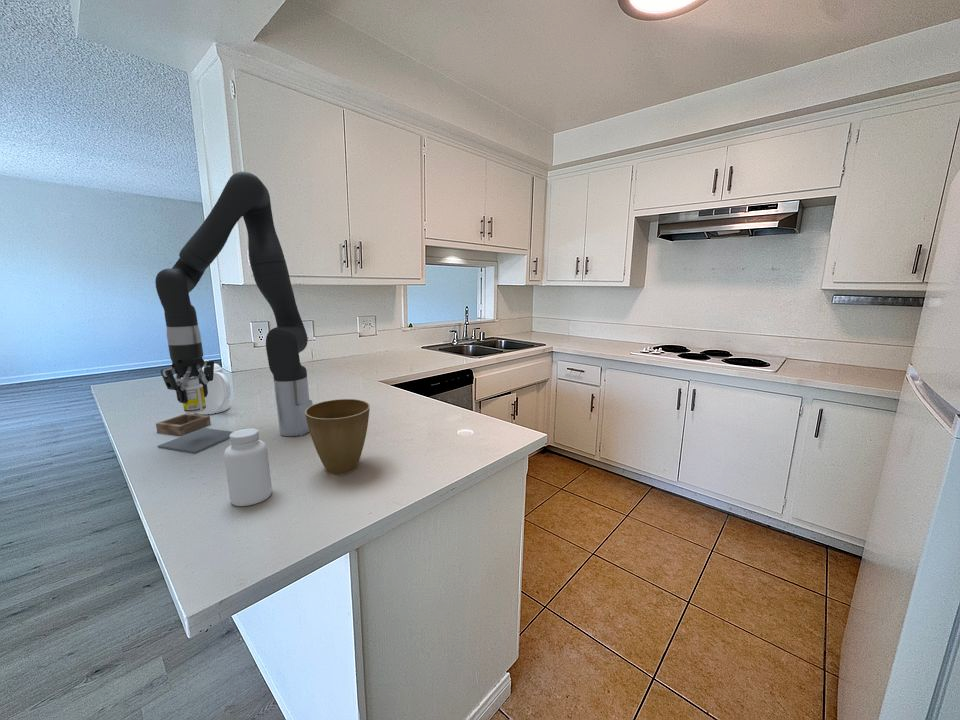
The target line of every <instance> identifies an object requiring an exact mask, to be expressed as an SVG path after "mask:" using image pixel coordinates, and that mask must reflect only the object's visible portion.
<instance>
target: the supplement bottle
mask: <svg viewBox="0 0 960 720" xmlns="http://www.w3.org/2000/svg"><path fill="white" fill-rule="evenodd" d="M185 390H186V395H187V401H188V402H187V403H182V406H183V411H184V413H185V414H186V413H189V414H196V413H197V412H201V411H203V410H205V409H206V403H205V397H204V391H203V385H202V384H200V383H199V379H198V378H192V377H191V378H189V380H188V382H187V383H186V387H185Z"/></svg>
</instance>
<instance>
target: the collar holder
mask: <svg viewBox="0 0 960 720" xmlns="http://www.w3.org/2000/svg"><path fill="white" fill-rule="evenodd" d="M210 425H212V423H211V416H210V415H199V414H196V413H186V412H185V413H184V414H180V415H178V416H175V417H172V418H168V419H166V420H163V421H159V422H156V423H155V426H156V427H155V428H156V432H157V433H158V434H164V435H169V436H170V435H171V436H178V437H182V436H184V435H187V434H190V433H192V432H195V431H197V430H200V429H203V428H206V427H208V426H210Z"/></svg>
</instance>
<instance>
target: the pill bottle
mask: <svg viewBox="0 0 960 720" xmlns="http://www.w3.org/2000/svg"><path fill="white" fill-rule="evenodd" d="M232 432H233V433H231V434H230V436H229V437H230V439H229V446H227V447H226V449H225V450H224V452H223V459H224V467H225V471H226V479H227V486H228V494H229V499H230V503H232V505H233V506H236V507H247V506H253V505H256V504H258V503H261V502H263V501H265V500H267V499H268V498H269V497H270V496H271V495H272V492H273V486H272V485H273V484H272V477H271V476H272V475H271V468H270V460H269V459H270V458H269V452H268V446H267V443H265V441H263V440H261V439H260V433H259V429H257V428H251V427H250V428H243V429H238V430H235V431H232Z"/></svg>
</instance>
